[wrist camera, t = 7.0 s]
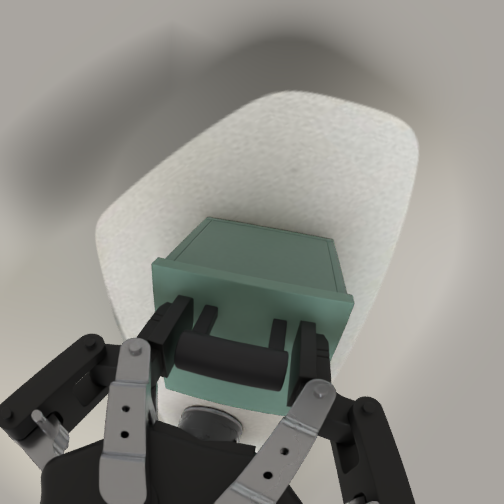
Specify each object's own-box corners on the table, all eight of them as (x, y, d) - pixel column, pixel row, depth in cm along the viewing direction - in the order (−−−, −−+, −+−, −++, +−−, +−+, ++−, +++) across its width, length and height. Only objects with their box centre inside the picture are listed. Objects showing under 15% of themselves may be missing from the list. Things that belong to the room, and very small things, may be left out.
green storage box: (207, 216, 22) (158, 264, 14) (333, 239, 21) (349, 301, 13) (202, 315, 26) (169, 380, 19) (304, 336, 25) (301, 409, 18)
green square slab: (157, 256, 14) (107, 307, 10) (352, 294, 13) (368, 364, 9) (169, 380, 19) (145, 429, 14) (301, 410, 18) (297, 465, 13)
